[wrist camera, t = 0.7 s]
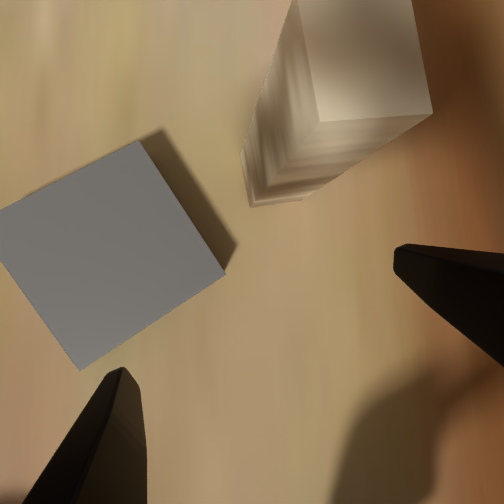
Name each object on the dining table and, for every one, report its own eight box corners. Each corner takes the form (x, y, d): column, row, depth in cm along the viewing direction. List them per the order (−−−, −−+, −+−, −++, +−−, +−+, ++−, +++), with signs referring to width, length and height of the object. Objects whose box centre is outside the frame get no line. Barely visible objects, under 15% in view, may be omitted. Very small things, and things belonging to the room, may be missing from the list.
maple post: (300, 200, 22) (432, 113, 9) (249, 207, 21) (319, 122, 9) (291, 149, 22) (409, -6, 10) (240, 154, 21) (295, -11, 9)
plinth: (223, 273, 21) (225, 274, 18) (95, 357, 19) (79, 371, 16) (146, 155, 20) (138, 140, 17) (5, 229, 18) (-27, 223, 15)
